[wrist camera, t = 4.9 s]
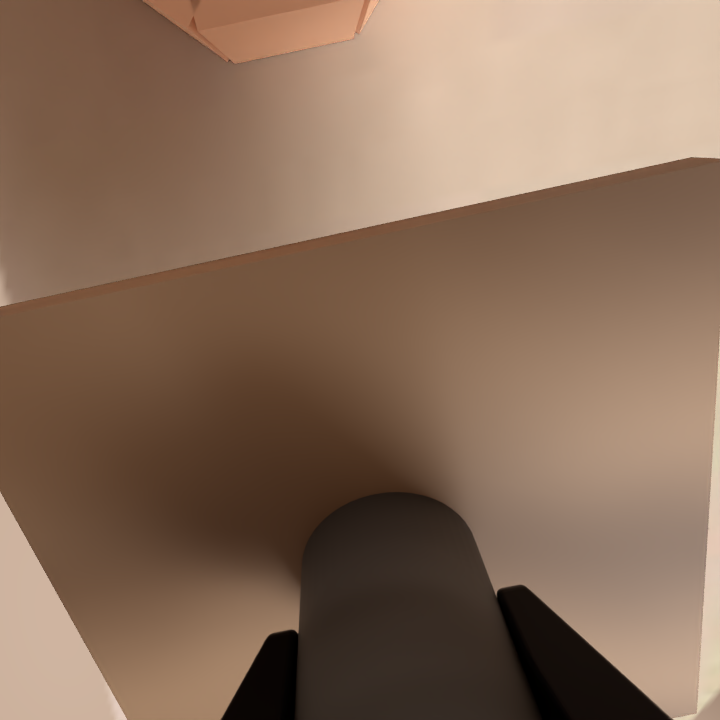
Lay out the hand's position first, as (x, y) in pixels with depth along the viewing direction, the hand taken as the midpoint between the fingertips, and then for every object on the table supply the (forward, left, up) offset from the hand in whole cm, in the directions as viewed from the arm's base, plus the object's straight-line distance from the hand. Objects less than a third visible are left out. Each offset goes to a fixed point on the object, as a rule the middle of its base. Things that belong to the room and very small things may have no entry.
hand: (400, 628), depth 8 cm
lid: (0, 0, -2) cm, 2 cm away
